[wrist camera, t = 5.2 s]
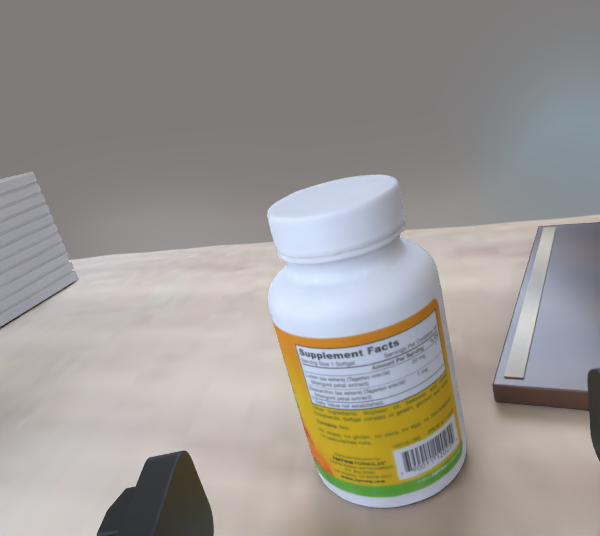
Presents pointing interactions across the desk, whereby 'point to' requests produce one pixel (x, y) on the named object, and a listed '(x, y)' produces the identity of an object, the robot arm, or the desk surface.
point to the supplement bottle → (366, 343)
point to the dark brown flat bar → (554, 321)
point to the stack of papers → (28, 248)
